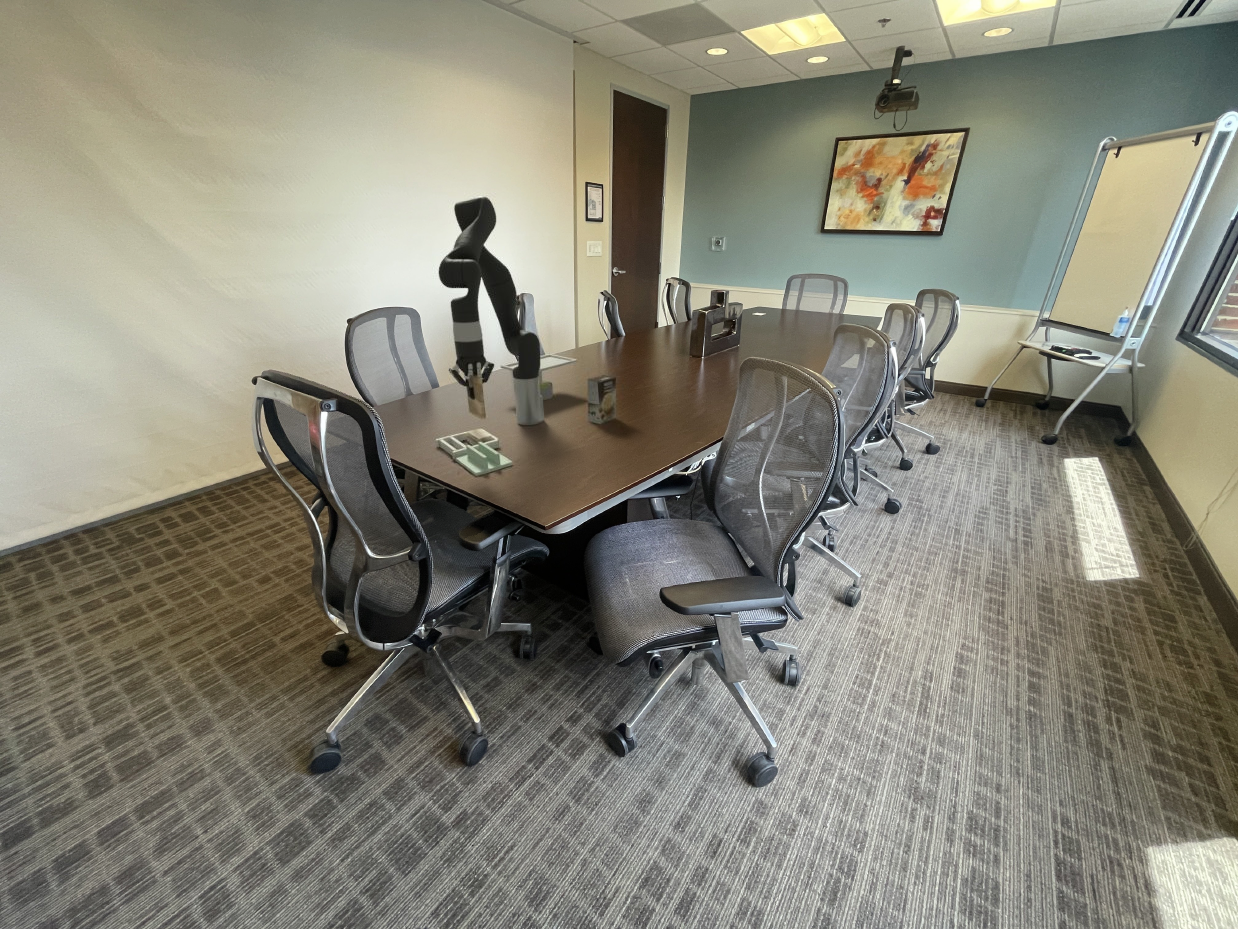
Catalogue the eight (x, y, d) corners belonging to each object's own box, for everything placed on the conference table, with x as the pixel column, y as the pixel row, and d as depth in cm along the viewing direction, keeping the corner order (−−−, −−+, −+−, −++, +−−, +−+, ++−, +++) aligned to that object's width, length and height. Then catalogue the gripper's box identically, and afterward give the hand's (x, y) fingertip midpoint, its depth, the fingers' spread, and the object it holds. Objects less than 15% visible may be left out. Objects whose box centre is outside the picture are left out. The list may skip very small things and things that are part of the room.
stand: (491, 450, 161) (489, 437, 159) (512, 464, 151) (511, 451, 150) (455, 460, 154) (453, 447, 152) (476, 476, 144) (474, 462, 143)
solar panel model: (530, 409, 199) (527, 372, 193) (503, 400, 209) (499, 365, 203) (578, 393, 219) (577, 359, 212) (551, 386, 229) (549, 353, 222)
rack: (481, 434, 174) (480, 428, 173) (500, 446, 164) (500, 439, 163) (436, 446, 164) (435, 439, 163) (454, 459, 155) (453, 452, 154)
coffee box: (600, 424, 183) (599, 382, 176) (587, 421, 187) (586, 379, 180) (616, 418, 190) (616, 377, 183) (603, 414, 193) (603, 374, 186)
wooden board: (474, 411, 150) (469, 371, 144) (486, 418, 144) (481, 377, 139) (469, 412, 149) (464, 372, 144) (481, 419, 143) (476, 378, 138)
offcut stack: (480, 437, 171) (479, 428, 170) (493, 445, 165) (491, 435, 163) (467, 441, 168) (465, 431, 167) (479, 449, 162) (477, 439, 161)
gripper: (484, 333, 143) (491, 391, 151) (438, 338, 135) (447, 399, 143) (497, 336, 138) (503, 397, 146) (450, 343, 130) (458, 406, 138)
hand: (475, 398), depth 144 cm, fingers closed on wooden board, 1 cm apart
